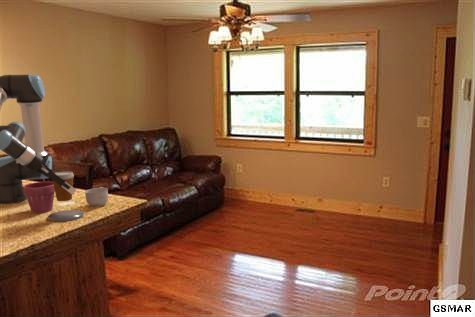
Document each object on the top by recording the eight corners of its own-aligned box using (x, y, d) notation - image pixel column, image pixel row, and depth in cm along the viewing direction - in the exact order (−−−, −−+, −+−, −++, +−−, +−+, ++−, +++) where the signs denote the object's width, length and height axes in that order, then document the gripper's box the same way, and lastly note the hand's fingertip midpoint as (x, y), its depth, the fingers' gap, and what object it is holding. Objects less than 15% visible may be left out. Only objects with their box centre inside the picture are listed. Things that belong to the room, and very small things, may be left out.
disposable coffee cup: (57, 197, 193) (55, 171, 191) (78, 196, 194) (76, 171, 192) (49, 202, 184) (47, 175, 182) (72, 202, 184) (70, 175, 183)
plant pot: (27, 208, 205) (24, 182, 203) (58, 205, 210) (56, 180, 208) (23, 216, 192) (21, 189, 190) (57, 212, 197) (54, 186, 195)
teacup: (101, 208, 203) (100, 192, 202) (81, 207, 205) (80, 191, 204) (115, 201, 216) (114, 186, 215) (96, 200, 219) (95, 185, 217)
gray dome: (50, 213, 196) (50, 211, 195) (84, 210, 200) (84, 208, 200) (45, 223, 181) (45, 221, 181) (82, 219, 186) (82, 217, 186)
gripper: (18, 162, 185) (59, 192, 197) (28, 169, 168) (72, 201, 180) (30, 149, 188) (69, 180, 200) (42, 155, 171) (84, 187, 183)
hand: (71, 190), depth 190 cm, fingers closed on disposable coffee cup, 9 cm apart
